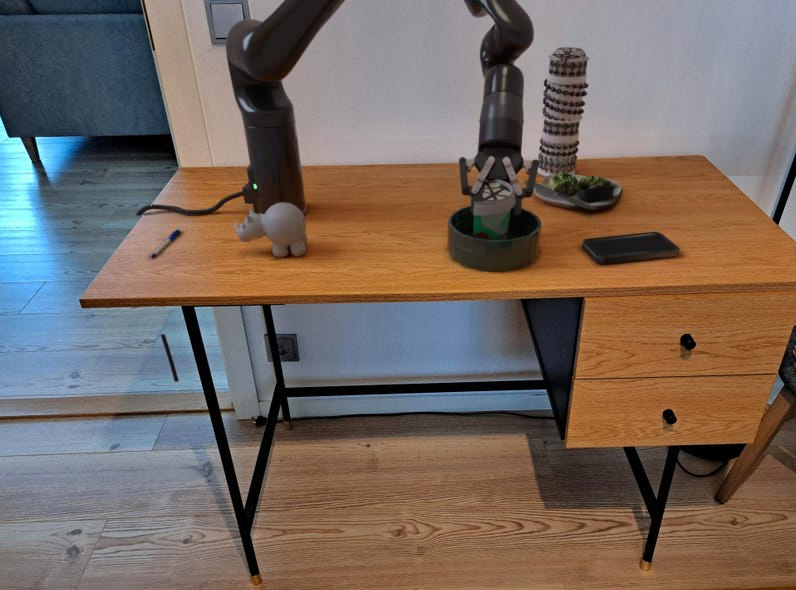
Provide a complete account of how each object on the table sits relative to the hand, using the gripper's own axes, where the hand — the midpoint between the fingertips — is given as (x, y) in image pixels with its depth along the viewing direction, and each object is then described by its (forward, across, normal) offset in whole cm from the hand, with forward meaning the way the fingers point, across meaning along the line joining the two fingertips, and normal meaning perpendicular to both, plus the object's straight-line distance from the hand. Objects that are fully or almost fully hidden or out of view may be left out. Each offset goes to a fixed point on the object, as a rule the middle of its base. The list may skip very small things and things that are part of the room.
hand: (495, 218), depth 109 cm
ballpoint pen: (+8, +58, -1) cm, 58 cm away
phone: (+3, -24, -5) cm, 24 cm away
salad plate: (-14, -16, -22) cm, 31 cm away
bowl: (+5, 0, -3) cm, 6 cm away
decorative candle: (-24, -13, -33) cm, 43 cm away
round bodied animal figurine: (+8, +38, 0) cm, 38 cm away
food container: (+4, 0, -3) cm, 5 cm away
